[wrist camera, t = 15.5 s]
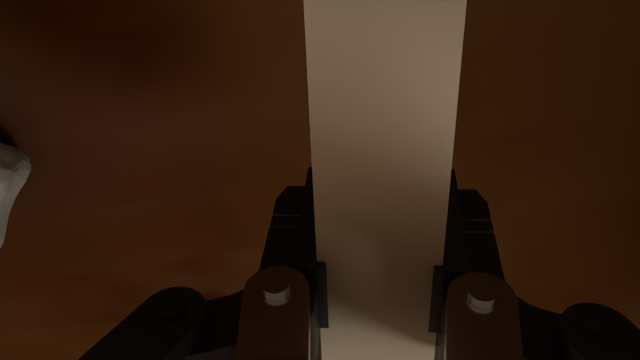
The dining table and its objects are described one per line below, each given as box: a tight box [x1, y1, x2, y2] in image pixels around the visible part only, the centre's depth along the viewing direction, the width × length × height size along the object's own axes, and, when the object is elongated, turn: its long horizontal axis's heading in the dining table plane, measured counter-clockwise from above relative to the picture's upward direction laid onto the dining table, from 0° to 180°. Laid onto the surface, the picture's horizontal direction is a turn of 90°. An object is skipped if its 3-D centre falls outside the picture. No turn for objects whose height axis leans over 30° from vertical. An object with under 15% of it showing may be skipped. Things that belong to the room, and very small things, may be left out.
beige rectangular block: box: [304, 0, 467, 360], centre depth 14 cm, size 11×6×5 cm, turn 2°
